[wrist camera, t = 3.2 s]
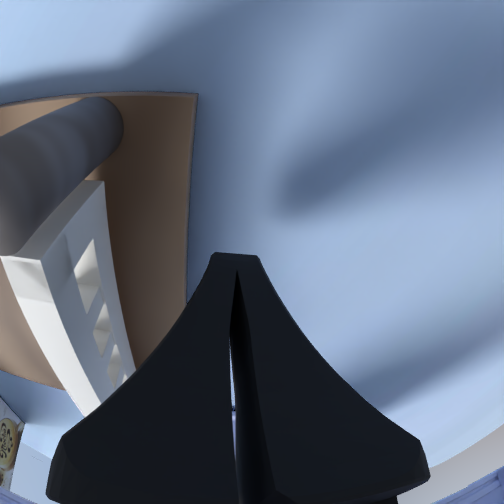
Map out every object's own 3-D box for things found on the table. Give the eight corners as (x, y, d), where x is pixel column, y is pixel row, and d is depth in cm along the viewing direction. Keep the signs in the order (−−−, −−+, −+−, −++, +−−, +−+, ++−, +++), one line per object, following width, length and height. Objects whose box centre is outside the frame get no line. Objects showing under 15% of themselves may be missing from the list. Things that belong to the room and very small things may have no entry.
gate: (140, 385, 14) (129, 449, 11) (119, 381, 14) (106, 444, 11) (104, 180, 8) (40, 260, 5) (69, 179, 8) (-1, 254, 5)
